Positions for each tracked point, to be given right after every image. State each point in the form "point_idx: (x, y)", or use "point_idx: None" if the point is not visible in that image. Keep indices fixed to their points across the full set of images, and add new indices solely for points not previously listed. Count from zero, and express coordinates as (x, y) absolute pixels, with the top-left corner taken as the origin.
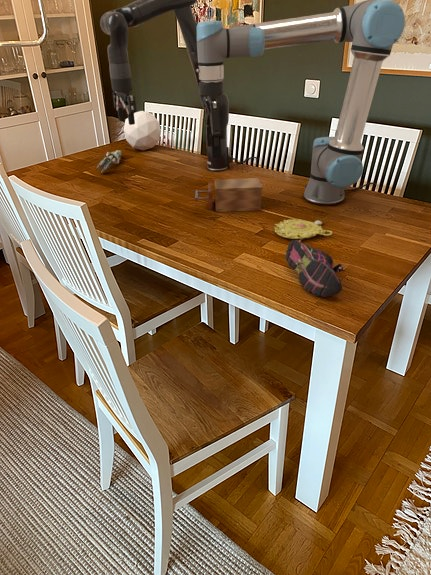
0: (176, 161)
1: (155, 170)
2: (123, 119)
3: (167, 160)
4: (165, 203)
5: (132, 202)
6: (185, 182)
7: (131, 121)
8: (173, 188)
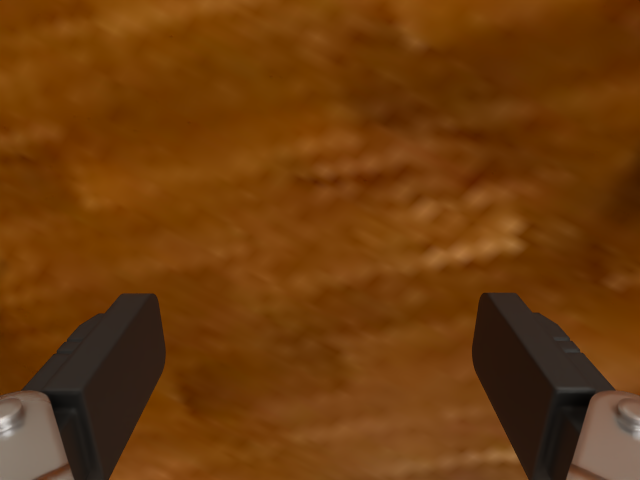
0: None
1: None
2: (480, 353)
3: None
4: (68, 166)
5: (166, 39)
6: (265, 357)
7: (74, 335)
8: (228, 286)
